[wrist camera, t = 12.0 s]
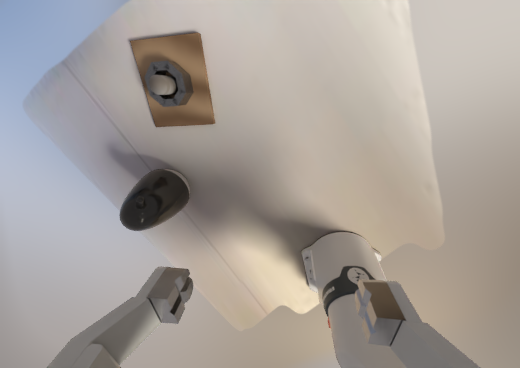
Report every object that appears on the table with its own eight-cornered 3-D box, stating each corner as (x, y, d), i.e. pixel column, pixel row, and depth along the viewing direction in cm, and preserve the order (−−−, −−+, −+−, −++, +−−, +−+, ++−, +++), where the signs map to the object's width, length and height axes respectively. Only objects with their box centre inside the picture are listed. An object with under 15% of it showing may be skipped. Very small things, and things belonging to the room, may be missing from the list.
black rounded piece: (203, 177, 43) (165, 218, 30) (187, 208, 48) (148, 256, 34) (162, 153, 42) (102, 185, 28) (149, 187, 46) (93, 228, 33)
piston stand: (215, 123, 37) (203, 129, 32) (158, 126, 39) (138, 132, 34) (200, 34, 31) (182, 23, 26) (134, 42, 33) (104, 33, 27)
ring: (196, 104, 35) (188, 105, 32) (163, 106, 36) (153, 107, 33) (187, 61, 32) (178, 59, 29) (152, 65, 33) (140, 63, 30)
